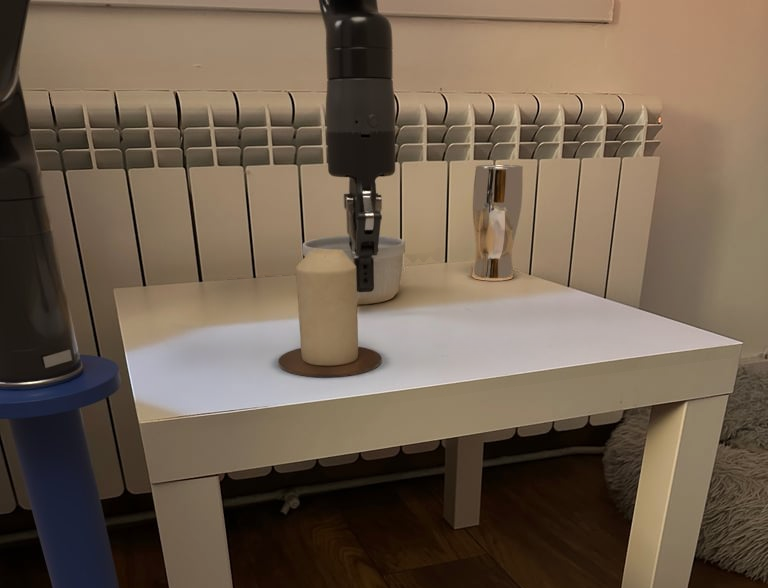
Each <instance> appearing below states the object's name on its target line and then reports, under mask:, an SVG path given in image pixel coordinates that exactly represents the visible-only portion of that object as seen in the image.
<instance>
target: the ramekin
mask: <svg viewBox="0 0 768 588" xmlns="http://www.w3.org/2000/svg"><path fill="white" fill-rule="evenodd" d="M349 242H350V239H349V235H348V234H347V235H334V236H325V237H318V238H313V239H309V240H305V241H304V242H303V243H302V255H303V257H305V256H306V255H307V254H308V252H309V251H310V252H312V253H313V252H314V251H315V250H316V249H318V248H321V249H324V250H326V251H330V250H333V249H338V250H343V252H344V253H345V254H346V255H347V256H348V258H349V259H350V260H351V261H352V262H353V263H354V257H352V254H351V250H352V249H351V248H350V246H349ZM405 252H406V242H405V240H404V239H402V238H398V237H393V236H388V235H379V242H378V252H377V255H376V256H375V259H374V289H373V291H371V292H358V291H357V306H359V305H371V304H378V303H382V302H386V301H390V300H391V299H393V298H394V297H395V296H396V294H397V293H398V292H399V289H400V287H401V286H400V284H401V279H402V278H401V277H402V270H403V259H404V254H405Z"/></svg>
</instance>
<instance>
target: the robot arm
mask: <svg viewBox="0 0 768 588" xmlns="http://www.w3.org/2000/svg"><path fill="white" fill-rule="evenodd" d="M30 5H31V0H0V390H32V389H40V388H46V387H51V386H55V385H60V384H63V383H66V382H69V381H71V380H74V379H76V378H77V377H79V376H80V375H82V373H83V371H84V370H83V366H82V362H81V361H80V354H81V353H80V349H79V346H78V342H77V337H76V331H75V327H74V323H73V318H72V313H71V308H70V303H69V299H68V293H67V289H66V283H65V280H64V276H63V275H64V274H63V270H62V265H61V261H60V255H59V251H58V246H57V242H56V241H57V240H56V237H55V232H54V227H53V222H52V218H51V217H52V216H51V214H50V209H49V204H48V199H47V196H46V194H47V193H46V189H45V184H44V179H43V173H42V169H41V166H40V162H39V158H38V154H37V151H36V146H35V143H34V139H33V135H32V129H31V126H30V120H29V116H28V110H27V106H26V100H25V96H24V91H23V87H22V81H21V77H20V68H21V54H22V49H23V42H24V37H25V31H26V26H27V20H28V16H29V14H28V13H29V10H30ZM318 5H319V10H320V14H321V18H322V22H323V26H324V30H325V61H326V62H325V63H326V64H325V65H326V79H327V81H326V97H325V116H326V117H325V118H326V124H325V125H326V147H327V171H328V174H329V175H330V176H331V177H335V178H348V179H349V180H348V193H343V208H344V210H345V214H346V215H345V216H346V233H347V236H348V235H349V239H350V242H349V246H350V248H351V249H352V250H351V254H352V257H354V264H355V266H356V278H357V291H358V292H371V291H373V289H374V259H375V256H376V255H377V252H378V242H379V236H381V234H380V233H381V223H382V220H383V219H382V218H383V216H382V214H381V212H382V210H383V200H382V198H383V197H382V195H381V194H379V193H378V192H377V184H376V180H377V178H379V177H383V178H384V177H391V176H393V175H394V174H395V172H396V99H395V98H396V97H395V92H394V80H393V79H394V60H393V59H394V51H393V50H394V46H393V45H394V44H393V42H394V41H393V30H392V24H391V22H390V20H389V18H387V17H386V16H385V15H384V14H382V13H380V12H379V8H378V7H379V6H378V0H318Z"/></svg>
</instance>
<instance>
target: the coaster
mask: <svg viewBox="0 0 768 588" xmlns="http://www.w3.org/2000/svg"><path fill="white" fill-rule="evenodd" d="M382 361H383V360H382V356H381V354H380V353H379V352H378V351H375V350H374V349H371V348H368V347H363V346H358V358H357V359H356V360H355V361H353V362H350V363H347V364H342V365H332V366H323V365H314V364H309V363H307V362H305V361H303V359H302V354H301V347H299V348H296V349H292V350H290V351H287V352H285V353H283V354H281V355H280V356H279V357H278V361H277V363H278V366H279V368H280V369H281V370H283V371H285V372H287V373H290V374H293V375H297V376H303V377H312V378H339V377H348V376H356V375H360V374H363V373H367V372H370V371H373V370H374V369H376V368H378V367H379V366H380V365H381V364H382Z"/></svg>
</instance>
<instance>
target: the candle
mask: <svg viewBox="0 0 768 588" xmlns="http://www.w3.org/2000/svg"><path fill="white" fill-rule="evenodd" d="M295 273H296V274H295V275H296V290H297V305H298V307H297V308H298V321H299V322H298V323H299V324H298V325H299V339H300V348H301V354H302V359H303V361H305V362H307V363H309V364H314V365H323V366H332V365H342V364H347V363H350V362H353V361H355V360H356V359H357V358H358V347H359V325H358V324H359V323H358V322H359V321H358V320H359V319H358V305H357V278H356V266H355V264H354V263H353V262H352V261H351V260H350V259H349V258H348V256H347V255H346V254H345V253H344V252H343V250H338V249H333V250H330V251H326V250H324V249H321V248H318V249H316V250H315V251H314V252H313V253H312V252H310V251H309V252H308V254H307V255H306V256H303V259H302V260H300V262H299V263H298V264H297V265H296V267H295Z"/></svg>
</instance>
